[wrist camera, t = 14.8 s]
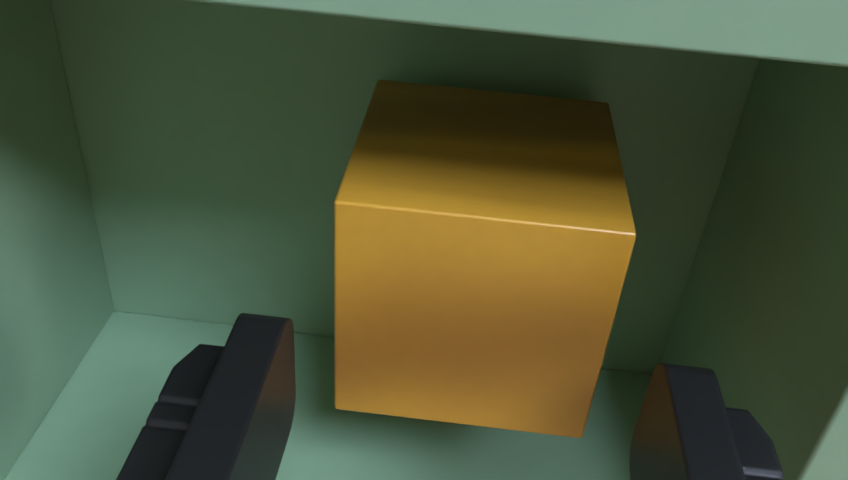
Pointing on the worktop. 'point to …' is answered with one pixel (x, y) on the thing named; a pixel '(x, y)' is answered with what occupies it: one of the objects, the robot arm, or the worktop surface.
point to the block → (478, 257)
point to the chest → (319, 183)
